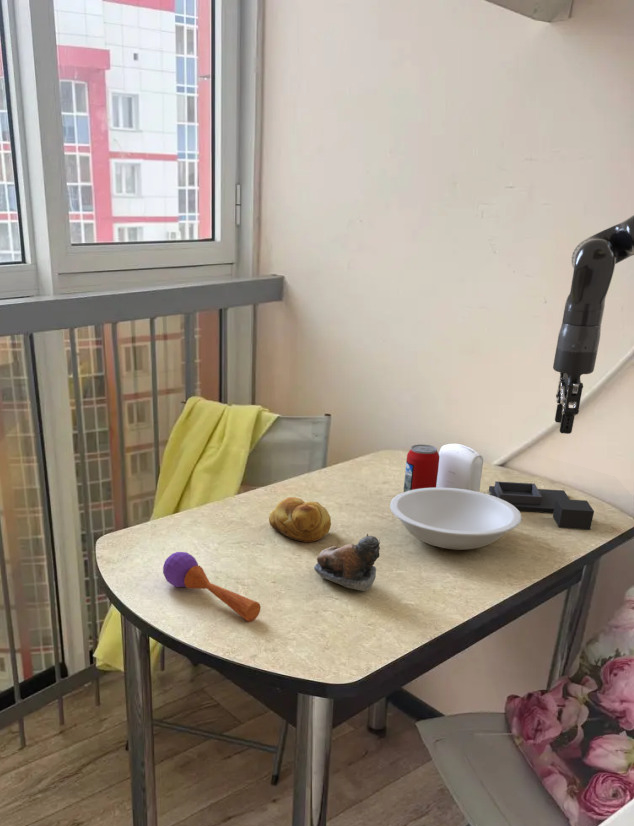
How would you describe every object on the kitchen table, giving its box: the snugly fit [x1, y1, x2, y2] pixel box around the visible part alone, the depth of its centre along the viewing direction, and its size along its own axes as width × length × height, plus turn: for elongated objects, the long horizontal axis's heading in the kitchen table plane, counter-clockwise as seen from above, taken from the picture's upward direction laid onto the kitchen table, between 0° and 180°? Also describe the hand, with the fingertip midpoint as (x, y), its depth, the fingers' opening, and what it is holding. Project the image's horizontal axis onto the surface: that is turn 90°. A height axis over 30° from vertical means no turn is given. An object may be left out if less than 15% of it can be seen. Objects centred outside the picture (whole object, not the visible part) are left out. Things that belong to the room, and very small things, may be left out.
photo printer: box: [436, 443, 484, 492], centre depth 166 cm, size 10×4×12 cm, turn 32°
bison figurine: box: [313, 533, 381, 592], centre depth 130 cm, size 12×7×10 cm, turn 44°
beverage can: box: [402, 444, 440, 493], centre depth 165 cm, size 7×7×12 cm
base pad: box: [488, 481, 571, 514], centre depth 167 cm, size 16×12×3 cm
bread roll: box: [268, 496, 332, 543], centre depth 150 cm, size 13×10×8 cm
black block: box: [552, 498, 595, 531], centre depth 156 cm, size 6×6×4 cm
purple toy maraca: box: [162, 551, 261, 623], centre depth 126 cm, size 6×6×20 cm
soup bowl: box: [389, 487, 523, 551], centre depth 147 cm, size 24×24×7 cm
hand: (562, 427), depth 158 cm, fingers open, 8 cm apart
